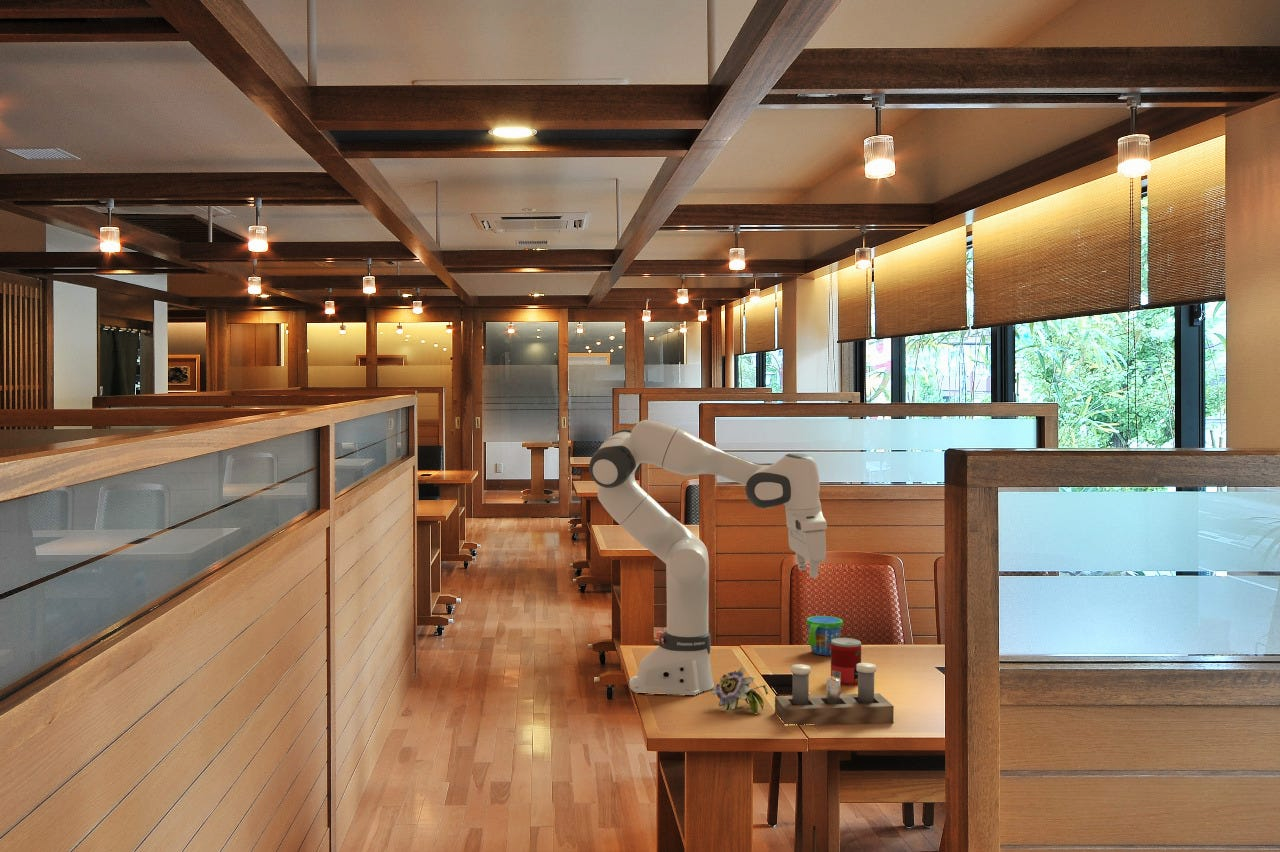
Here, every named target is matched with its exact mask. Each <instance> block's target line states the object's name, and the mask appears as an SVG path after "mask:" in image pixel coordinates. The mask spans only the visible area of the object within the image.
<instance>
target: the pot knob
mask: <svg viewBox="0 0 1280 852" xmlns="http://www.w3.org/2000/svg"><path fill="white" fill-rule="evenodd" d="M840 694H841V685H840V679H839V678H834V677H833V676H831V675H830V677H827V678H826V695H827V705H830V704H840Z"/></svg>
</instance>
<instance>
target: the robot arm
mask: <svg viewBox="0 0 1280 852" xmlns="http://www.w3.org/2000/svg"><path fill="white" fill-rule="evenodd" d="M644 463H645V464H646V463H648V464H651V465H654V466H655V467H658V468H659V469H663V470H666V471H667V472H670V473H673V474H677V475H682V476H686V477H687V476H688V477H690V476H697V475H699V476H700V475H715V476H719V477H722V478H725V479H728V480H729V481H732V482H735V483H738V484H741V485H743V486H745V495H746V497H747V499H748V501H749V502H750V503H751V504H752V505H754V506H755V507H757V508H759V509H760V508H761V509H770V508H773V507H777V506H781V505H784V509H785V520H786V522H785V523H786V527H787V529H788V530H787V531H788V533H787V534H788V547H789V549H790V550H791V551H793V552H795V557H796V560H797V561H796V562H797V565H798V566H797V567H798V570H800V571H807V568H808V565H807V562H806V560H807V561H808V564H809V570H808V575H809V577H810V578H811V579H817V578H819V568H820V567H819V566H820V563H823V562H825V561H826V558H827V538H826V537H827V536H826V535H827V534H826V530H827V529H828V523H827V520H826V519H825V517H824V516H823V512H822V511H823V510H822V504H821V500H820V492H821V491H820V489H821V487H820V486H821V485H820V477H819V476H820V475H819V469H818V464H817V462H816V460H815V459H814V458H813V457H812V456H810V455H809V454H808V455H807V454H804V453H803V454H802V453H787V454H785V455H784V456H783V457H782V458H780V459H779V460H777V461H776V462H774V463H771V462H770V463H768V462H767V463H759V462H758V463H756V462H754V461H753V462H752V461H750V460H747V459H745V458H742V457H739V456H736V455H734V454H731V453H728V452H725V451H723V450H722V449H719V448H717V447H715V446H714V445H711V444H710V443H707V442H706V441H704V440H703V439H701V438H699V437H697V436H696V435H694V434H692V433H690V432H688V431H685V430H683V429H681V428H678V427H677V426H673V425H670V424H668V423H663V422H659V421H656V420H650V419H643V420H641V421H639V422H637V423H636V424H635V425H634V426H633V428H632V429H629V428H626V429H625V428H624V429H621V430H618V431H616V432H614V433H613V434H612V435H611V436H609V437H608V438H607V439H606V440H604V441H603V442H602V443H601V445H600V447H599V448H598V449H597V450H596V451H595V452H594V453H593V455H592V457H591V458H590V460H589V465H588V466H589V467H588V471H589V475H590V477H591V479H592V480H593V481H594V482H595V483H596V484H597V485H598V486H599V487H598V489H597V493H596V494H597V500H598V501H599V502H600V504H601V505H602V507H603V508H604V509H605V511H606V512H607V513H608V514H609V515H610V517H611V518H612V519H613V520H614V521H615V522H616V523H618V525H620V527H621V528H623V529H624V530H625V531H626V532H627V533H628V534H629V535H630V536H631V538H633V539H634V540H636V542H637V543H639V544H640V545H641V546H642V547H643V548H645V549H647V550H648V551H649V552H650V553H652V554H653V555H655V556H656V557H657V558H658V559H659V560H661V561H662V563H664V564H665V568H666V569H665V571H666V572H665V573H666V574H665V576H666V585H665V586H666V631H665V632H663V631H661V630H657V631H656V633H655V637H656V639H657V640H658V646H657V648H655V649H654V650H653V651H651V652H650V653H648V654H647V655H645V656H644V657H643V658H642V659H641V661H640V663H639V666H638V669H637V675H634V676H632V677H631V678H630V679H629V683H628V684H629V685H628V686H629V688H630V690H631V691H632V692H633V693H635V694H638V693H641V692H646V693H649V692H650V693H665V694H685V695H694V696H697V695H699V694H700V692H701V693H703V691H704V692H707V691H710V690H713V689H714V688H715V682H714V679H713V674H712V669H711V662H710V654H711V633H710V631H709V601H710V600H709V598H710V597H709V594H710V591H709V589H710V588H709V587H710V582H709V580H710V560H709V559H710V558H709V553H708V549H707V546H706V545H705V543H704V542H703V541H702V540H701V539H700V537H699V538H698V536H696V535H695V534H694V533H693V532H692V531H691V530H690V529H688V528H687V527H686V526H685V525H684V524H682V523H681V522H680V521H678V519H676V518H675V517H674V516H673V515H671V514H670V512H668V511H667V510H666V509H665V508H664V507H663V506H661V504H659V503H658V502H657V500H655V499H654V498H653V497H651V495H650V494H648V493H647V492H646V490H644V488H642V487H641V486H640V485H639V484H638V482H637V481H636V478H635V474H637V473H639V471H640V469H641V467H642V464H644ZM698 693H699V694H698ZM696 694H697V695H696ZM685 695H684V696H685Z"/></svg>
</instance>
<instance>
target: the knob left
mask: <svg viewBox="0 0 1280 852" xmlns="http://www.w3.org/2000/svg"><path fill="white" fill-rule="evenodd" d="M790 672H791V673H792V691H791V692H792V695H791V696H792V705H793V706H795V705H809V695H810V693H809V692H810V691H809V687H810V685H809V684H810V681H809V680H810V674H811V666H810V665H807V664H801V663H799V664H792V665H791V666H790Z"/></svg>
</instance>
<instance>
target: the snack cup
mask: <svg viewBox="0 0 1280 852" xmlns="http://www.w3.org/2000/svg"><path fill="white" fill-rule="evenodd" d="M805 622H806V625H807V627H808V639H807V643H808V645H809V646H810V649H811V653H813V654H816V655H818V656H831V640H832V639H835V638H841V629H842V627H843V625H844V621H843V619H842V618H839V617H835V616H831V615H830V616H829V615H813V616H808V617H807V618H806V621H805Z"/></svg>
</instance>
